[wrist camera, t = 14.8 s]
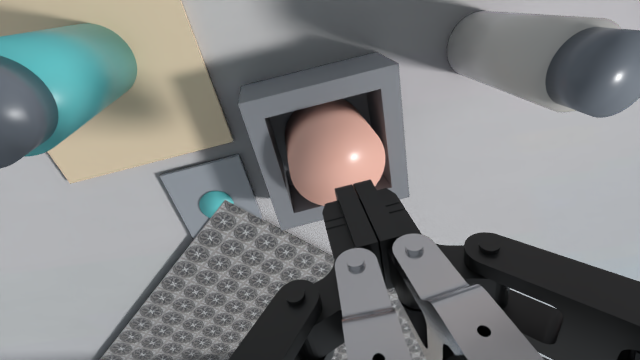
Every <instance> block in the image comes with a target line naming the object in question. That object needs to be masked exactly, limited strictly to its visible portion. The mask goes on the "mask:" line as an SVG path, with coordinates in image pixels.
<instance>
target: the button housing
mask: <svg viewBox="0 0 640 360" xmlns="http://www.w3.org/2000/svg"><path fill="white" fill-rule="evenodd" d="M339 99H344V100H346V101H347V102H349V103H350V104H352V105H353V106H354V107H355V108H356V109H357V110H358V112H359V113H360V114H361V115H362V117H363V118H364V119H365V120H366V122H367V123H368V124H369V125H370V127H371V128H372V129H373V130H374V132H375V133H376V134H377V135H378V137H379V138H380V140H381V142H382V144H383V147H384V150H385V167H384V171H383V173H382V176H381V178H380V180H379V181H378V183H377V184H376V186H375V188H376V190H380V189H384V188H387V189H389V190H390V191H392V192H394V193H395V194H396V195H397V197H398V198H399V199H403V198H407V197H409V187H408V174H407V162H406V149H405V137H404V125H403V112H402V100H401V87H400V75H399V64H398V63H396V62H395V61H393V60H391V59H389V58H387V57H385V56H384V55H382V54H380V53H378V52H375V53H371V54H367V55H363V56H359V57H355V58H351V59H347V60H343V61H339V62H335V63H331V64H327V65H323V66H319V67H315V68H311V69H307V70H303V71H299V72H295V73H291V74H287V75H283V76H279V77H275V78H271V79H267V80H264V81H260V82H256V83H252V84H248V85H244V86H241V91H240V96H239V101H238V106H239V109H240V112H241V115H242V117H243V120H244V123H245V126H246V129H247V132H248V135H249V138H250V141H251V143H252V146H253V149H254V152H255V155H256V158H257V161H258V164H259V166H260V169H261V172H262V175H263V178H264V181H265V184H266V187H267V189H268V192H269V195H270V198H271V201H272V204H273V207H274V210H275V212H276V215H277V218H278V221H279V224H280V227H281V230H286V229H290V228H293V227H297V226H301V225H305V224H309V223H312V222H316V221H320V220H324V218H323V214H322V212H323V209H324V206H322V205H318V204H315V203H313V202H311V201H309V200H307V199H306V198H304V197H303V196H302V195H301V194H300V193H299V192H298V191H297V189H296V188H295V186H294V184H293V182H292V180H291V176H290V171H289V165H288V158H287V152H286V146H285V129H286V125H287V122H288V120H289V118H290V117H291V115H292V114H293V112H294V111H296V110H300V109H304V108H308V107H311V106H315V105H319V104H323V103H327V102H331V101H335V100H339Z"/></svg>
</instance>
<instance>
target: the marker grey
mask: <svg viewBox="0 0 640 360" xmlns="http://www.w3.org/2000/svg"><path fill="white" fill-rule="evenodd" d="M447 58H448V61H449V64H450V66H451V67H452V69H453V70H454V71H456V72H457V73H459V74H461V75H463V76H466V77H468V78H471V79H474V80H476V81H479V82H481V83H484V84H486V85H489V86H491V87H494V88H497V89H499V90H502V91H504V92H507V93H509V94H512V95H515V96H517V97H520V98H522V99H525V100H527V101H530V102H533V103H535V104H538V105H540V106H543V107H545V108H548V109H550V110H553V111H556V112H563V113H566V112H572V111H579V112H582V113H584V114H587V115H590V116H593V117H608V116H612V115H615V114H617V113H619V112H621V111H623V110H625V109H626V108H628V107H629V106H631V105H632V104H633V103H634V102H635V101H637V100H638V99H639V98H640V31H639V30H628V29H621V28H620V26H619V25H618V24H617V23H615V22H614V21H612V20H609V19H606V18H591V17H575V16H558V15H541V14H525V13H508V12H491V11H478V12H474V13H472V14H470V15H468V16H466V17H465V18H464V19H462V20H461V21H460V22H459V23H458V24H457V26H456V27H455V28H454V30H453V32H452V33H451V36H450V38H449V41H448V45H447Z"/></svg>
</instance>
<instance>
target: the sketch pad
mask: <svg viewBox="0 0 640 360" xmlns="http://www.w3.org/2000/svg"><path fill="white" fill-rule="evenodd" d="M83 23H91V24H97V25H100V26H103V27H106V28H108V29H110V30H112V31H113V32H115V33H116V34H118V35H119V36H120V37H121V38H122V39H123V40H124V41H125V42H126V43H127V44H128V46H129V47H130V49H131V50H132V52H133V54H134V57H135V59H136V63H137V76H136V80H135V82H134V84H133V86H132V87H131V88H130V89H129V90H128V91H127V92H126V93H124V94H123V95H122V96H120V97H119V98H118V99H117V100H115V101H114V102H113V103H111V104H110V105H109V106H107V107H106V108H105V109H104V110H102V111H101V112H100V113H98V114H97V115H96V116H94V117H93V118H92V119H91V120H89V121H88V122H87V123H85V124H84V125H83V126H82V127H80V128H79V129H78V130H76V131H75V132H74V133H72V134H71V135H70V136H69V137H67V138H66V139H65V140H63V141H62V142H61V143H59V144H58V145H57V146H56V147H54V148H52V149H51V150H49V151H47V152H48V153H49V155H50V156H51V158H52V159H53V160H54V162H55V163H56V165H57V166H58V167H59V169H60V170H61V172H62V173H63V174H64V176H65V177H66V179H67V180H68V181H69V183H70V184H71V183H75V182H78V181H82V180H86V179H90V178H94V177H98V176H102V175H106V174H110V173H114V172H117V171H121V170H125V169H129V168H133V167H137V166H141V165H145V164H149V163H153V162H156V161H160V160H164V159H168V158H172V157H176V156H180V155H184V154H188V153H192V152H195V151H199V150H203V149H207V148H211V147H215V146H219V145H223V144H227V143H231V142H233V137H232V134H231V132H230V129H229V126H228V124H227V121H226V118H225V116H224V113H223V111H222V108H221V105H220V103H219V100H218V97H217V95H216V92H215V89H214V87H213V84H212V81H211V79H210V76H209V73H208V71H207V68H206V65H205V63H204V60H203V57H202V55H201V52H200V49H199V47H198V44H197V41H196V39H195V36H194V33H193V31H192V28H191V25H190V23H189V20H188V17H187V15H186V12H185V9H184V7H183V4H182V2H181V0H0V37H1V36H7V35H13V34H19V33H26V32H32V31H38V30H44V29H51V28H57V27H63V26H70V25H76V24H83Z"/></svg>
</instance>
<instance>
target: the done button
mask: <svg viewBox="0 0 640 360" xmlns="http://www.w3.org/2000/svg"><path fill="white" fill-rule="evenodd" d="M285 146H286V152H287V158H288V165H289V171H290V176H291V180H292V182H293V184H294V186H295V188H296V189H297V191H298V192H299V193H300V194H301V195H302V196H303V197H304V198H306V199H307V200H309V201H311V202H313V203H315V204H318V205H322V206H325V204H326V203H329V202H333V201H337V200H336V195H335V188H338V187H342V186H346V185H350V184H352V185H353V184H354V183H358V182H362V181H366V180H371V181H372V183H373V184H374V186H376V184H377V183H378V181H379V180H380V178H381V176H382V173H383V171H384V167H385V150H384V147H383V144H382V142H381V140H380V138H379V137H378V135H377V134H376V133H375V132H374V130H373V129H372V128H371V127H370V125H369V124H368V123H367V122H366V120H365V119H364V118H363V117H362V115H361V114H360V113H359V112H358V110H357V109H356V108H355V107H354V106H353V105H352V104H350V103H349V102H347V101H346V100H344V99H339V100H335V101H331V102H327V103H323V104H319V105H315V106H311V107H308V108H304V109H300V110H296V111H294V112H293V114H292V115H291V117H290V118H289V120H288V122H287V125H286V129H285Z"/></svg>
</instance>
